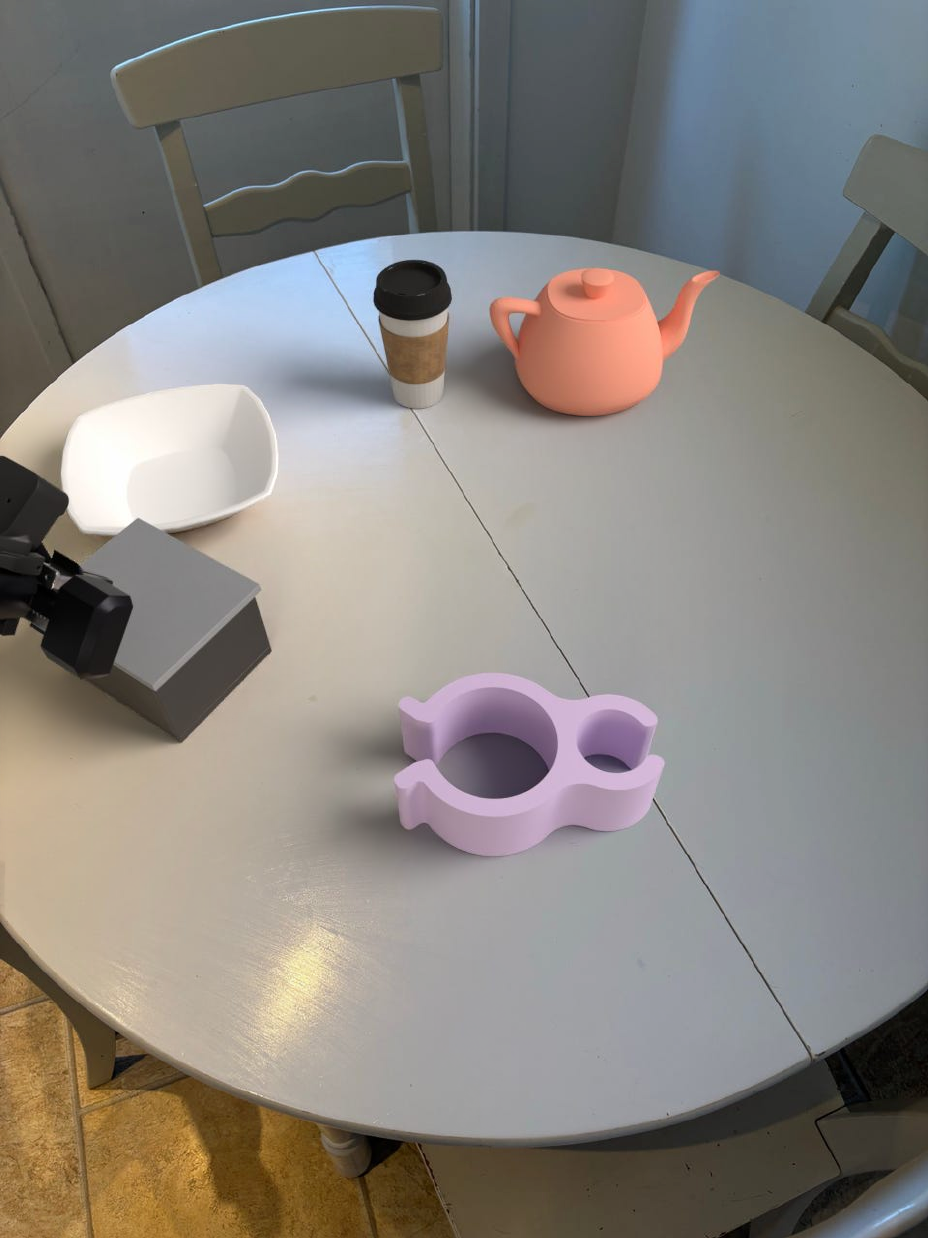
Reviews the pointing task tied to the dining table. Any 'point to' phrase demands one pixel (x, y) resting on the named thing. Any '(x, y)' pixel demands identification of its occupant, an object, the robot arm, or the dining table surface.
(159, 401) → the bowl
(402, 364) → the coffee cup
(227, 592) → the box lid
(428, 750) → the clip
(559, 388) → the teapot
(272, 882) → the dining table surface
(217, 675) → the grey hinged lid box
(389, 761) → the dining table surface
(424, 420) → the dining table surface
